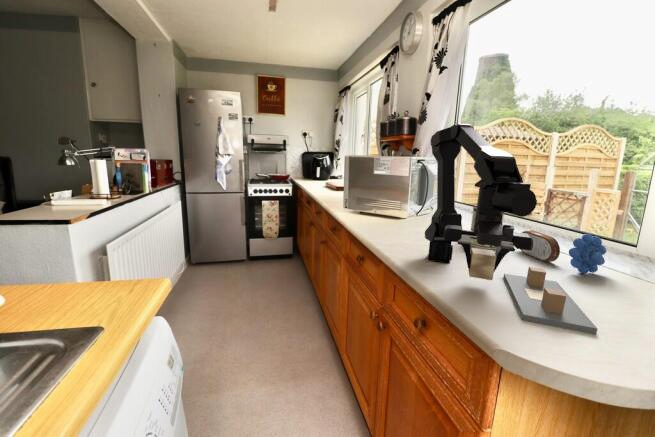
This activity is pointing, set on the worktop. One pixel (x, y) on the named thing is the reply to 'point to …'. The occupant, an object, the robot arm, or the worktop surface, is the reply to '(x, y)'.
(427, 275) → the worktop surface
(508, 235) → the robot arm
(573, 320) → the board
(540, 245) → the tin
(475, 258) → the maple block
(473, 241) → the coffee can
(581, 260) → the grapes
